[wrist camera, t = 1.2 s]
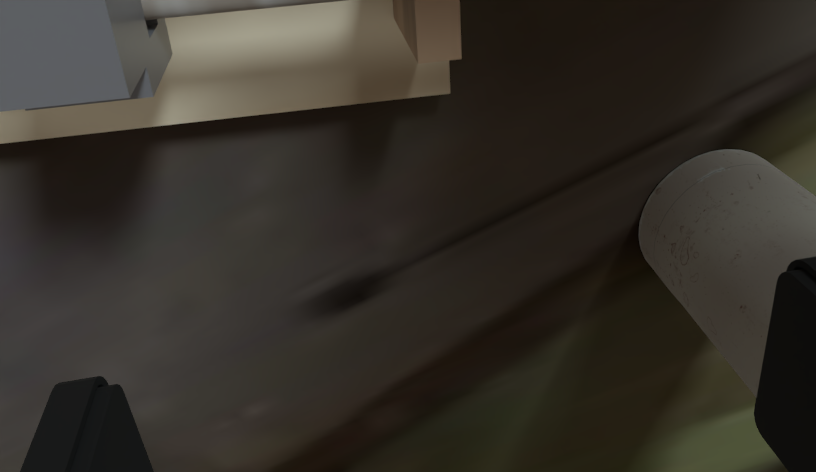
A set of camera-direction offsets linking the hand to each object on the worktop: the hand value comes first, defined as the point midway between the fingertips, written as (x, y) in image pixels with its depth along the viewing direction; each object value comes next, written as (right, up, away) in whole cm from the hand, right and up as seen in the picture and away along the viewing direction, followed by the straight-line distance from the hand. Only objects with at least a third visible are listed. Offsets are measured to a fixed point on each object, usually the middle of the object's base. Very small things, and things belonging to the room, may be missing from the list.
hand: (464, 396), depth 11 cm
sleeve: (-12, +11, +17) cm, 23 cm away
